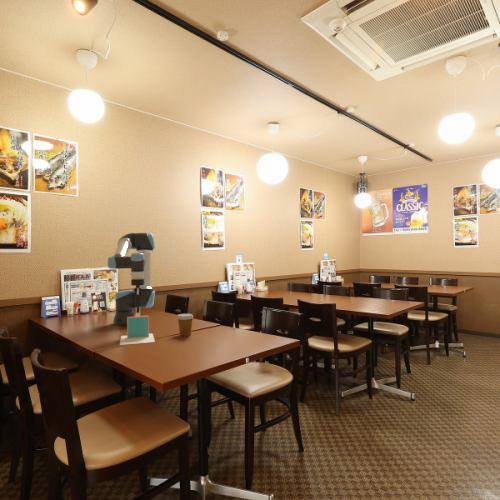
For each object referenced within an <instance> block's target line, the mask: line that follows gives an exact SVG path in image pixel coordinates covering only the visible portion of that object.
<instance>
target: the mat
mask: <svg viewBox="0 0 500 500" xmlns="http://www.w3.org/2000/svg"><path fill="white" fill-rule="evenodd" d="M153 333H154V332H153ZM153 333H149V337H139V338H127V334H126V335H121V336H120V340H119V345H120V346H123V345H133V344H135V345H136V344H146V343H155V337H154V334H153Z"/></svg>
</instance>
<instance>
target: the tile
mask: <svg viewBox="0 0 500 500" xmlns="http://www.w3.org/2000/svg"><path fill="white" fill-rule="evenodd" d="M149 334H150V316H149V315H140V316H136V315H134V316H133V317H127V325H126V335H127V338H139V337H149Z"/></svg>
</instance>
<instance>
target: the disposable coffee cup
mask: <svg viewBox="0 0 500 500" xmlns="http://www.w3.org/2000/svg"><path fill="white" fill-rule="evenodd" d="M193 318H194V315H193V314H192V313H180V314H177V321H178V329H179V330H178V331H179V335H180V336H182V337H187V336H191V335H192V327H193V326H192V325H193Z"/></svg>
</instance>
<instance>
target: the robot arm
mask: <svg viewBox="0 0 500 500" xmlns="http://www.w3.org/2000/svg"><path fill="white" fill-rule="evenodd" d="M155 249H156V245H155V238H154V234H153V233H151V232H129V233H127V234H124V235H122V236H121V237H120V238H119V239H118V241H117V247H116V250H115V253H114V254H113V256H109V257H108V258H107V268H108V269H111V270H117V269H122V270H123V269H130V273H129V276H130V278H131V279H130V284H131V286H135V287H134V289H125V290H120V291H117V292H115V298H114V299H115V313H114V317H113V320H112V325H114V326H127V317H133V316H141V309H144V308H145V309H147V308H153V306H154V302H155V295H156V291H155V290H154V288H153V286H152V284H151V283H152V280H151V279H152V275H151V274H152V263H151V262H152V260H151V259H152V258H151V257H152V253H153V252H154V250H155ZM130 250H136V252H133V253H131V255H130V256H128V253H129V251H130ZM134 309H135V314H134Z"/></svg>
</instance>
